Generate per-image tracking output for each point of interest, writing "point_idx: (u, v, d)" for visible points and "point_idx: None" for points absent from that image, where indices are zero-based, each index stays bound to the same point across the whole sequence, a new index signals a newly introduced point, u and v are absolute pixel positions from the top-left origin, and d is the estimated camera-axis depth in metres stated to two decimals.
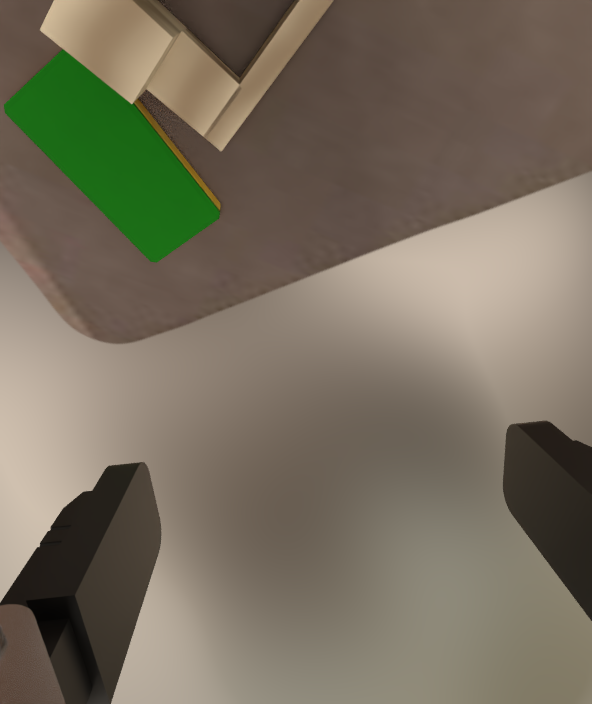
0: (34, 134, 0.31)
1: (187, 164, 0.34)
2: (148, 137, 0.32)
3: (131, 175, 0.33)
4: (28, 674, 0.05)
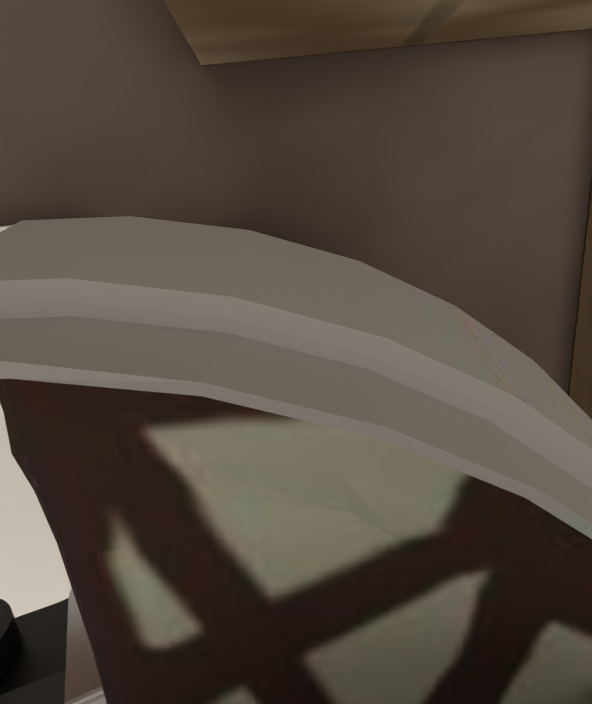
0: None
1: None
2: None
3: None
4: None
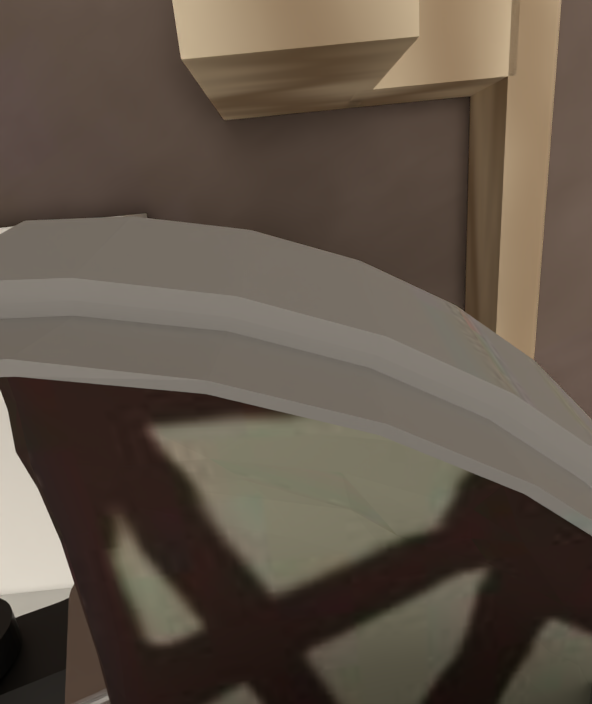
0: None
1: None
2: None
3: None
4: None
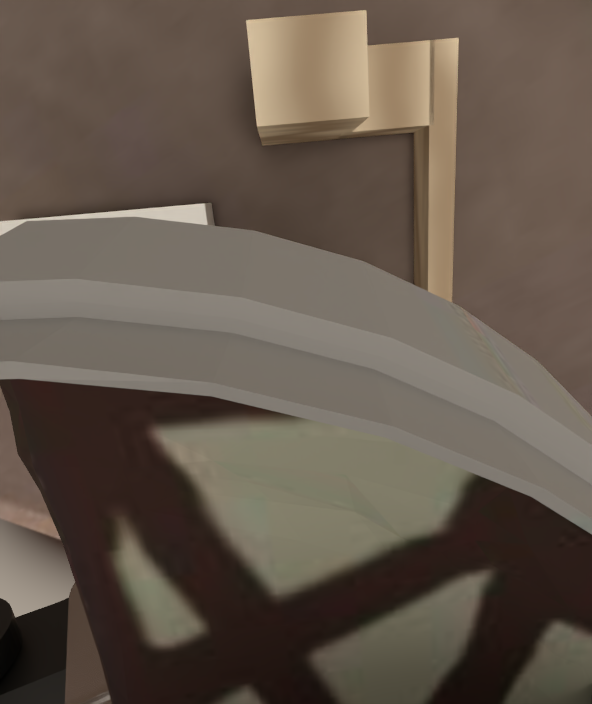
0: None
1: None
2: None
3: None
4: None
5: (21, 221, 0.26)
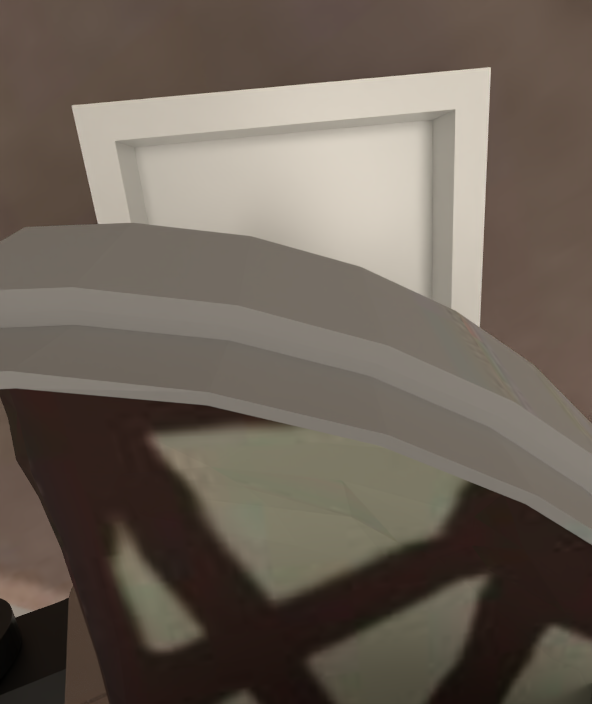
0: None
1: None
2: None
3: None
4: None
5: (131, 103, 0.13)
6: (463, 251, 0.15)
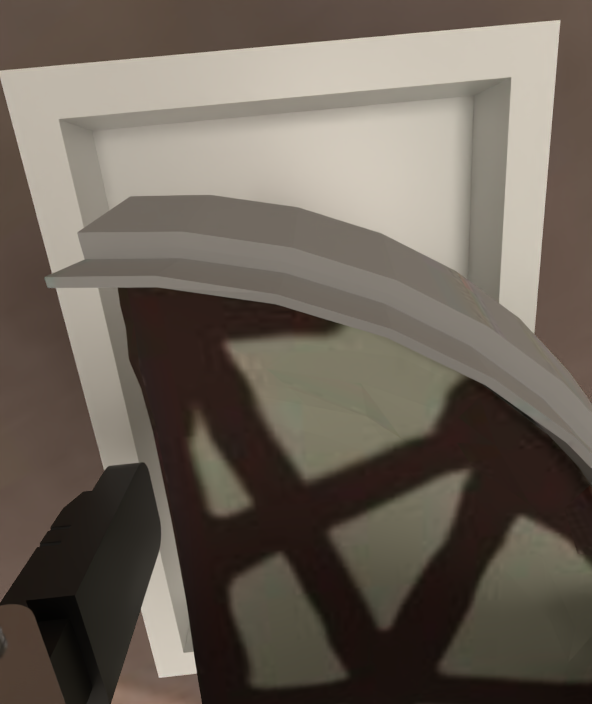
0: None
1: None
2: None
3: None
4: (28, 674, 0.05)
5: (79, 68, 0.10)
6: (515, 264, 0.12)
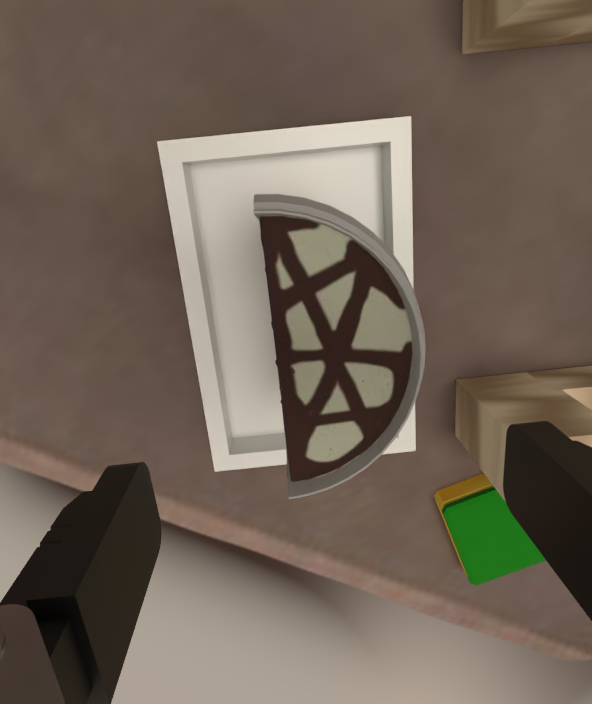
0: (501, 572, 0.32)
1: None
2: None
3: None
4: (28, 674, 0.05)
5: (192, 140, 0.22)
6: (400, 230, 0.23)
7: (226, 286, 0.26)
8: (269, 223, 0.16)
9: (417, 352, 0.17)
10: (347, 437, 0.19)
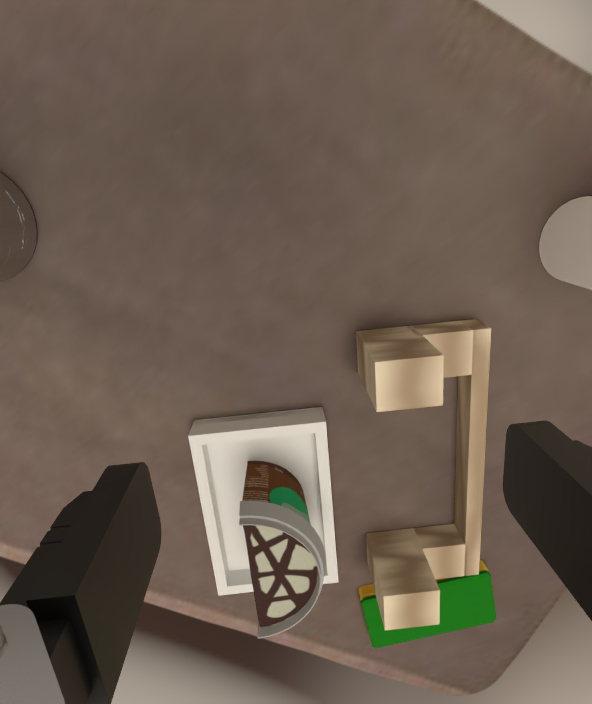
0: (392, 642, 0.51)
1: None
2: None
3: None
4: (28, 674, 0.05)
5: (207, 435, 0.40)
6: (322, 473, 0.42)
7: (225, 491, 0.44)
8: None
9: (319, 573, 0.36)
10: (287, 606, 0.37)
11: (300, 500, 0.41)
